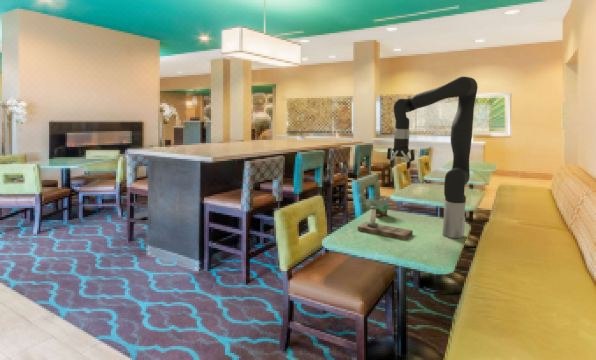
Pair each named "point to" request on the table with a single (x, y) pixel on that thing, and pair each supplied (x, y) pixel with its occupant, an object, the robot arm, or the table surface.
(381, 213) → the potted plant
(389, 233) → the brown wooden board
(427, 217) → the table surface
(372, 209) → the fader
